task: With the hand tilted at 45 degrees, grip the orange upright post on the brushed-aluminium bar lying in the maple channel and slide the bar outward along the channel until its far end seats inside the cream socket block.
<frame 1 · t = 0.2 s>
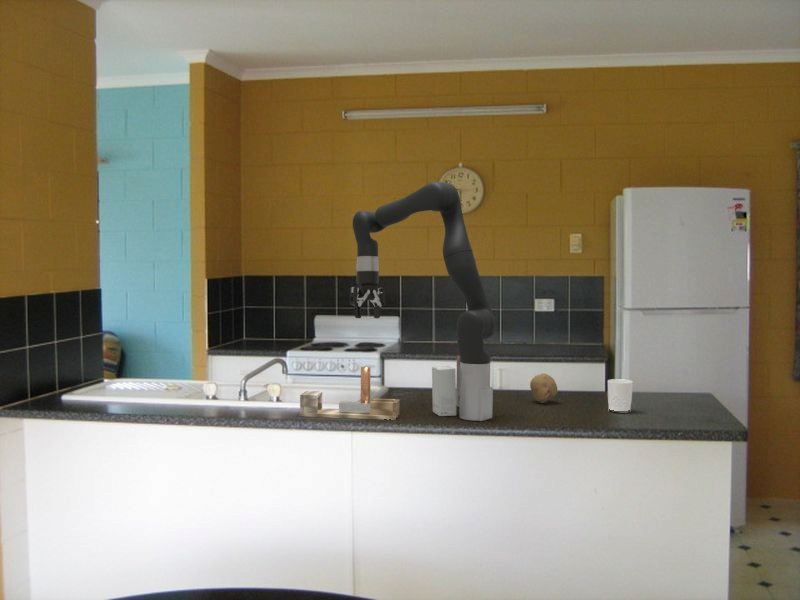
hand: (367, 318, 274), 28 cm above the countertop, tool pointing down, fingers open, 8 cm apart
white cup: (619, 412, 261), on the countertop
tube: (365, 389, 250), point 8 cm above the countertop, slide at 0.0 cm
juice carton: (470, 406, 268), on the countertop
channel and socket: (349, 415, 251), on the countertop
natural sponge: (543, 403, 275), on the countertop
skincare box: (443, 414, 255), on the countertop
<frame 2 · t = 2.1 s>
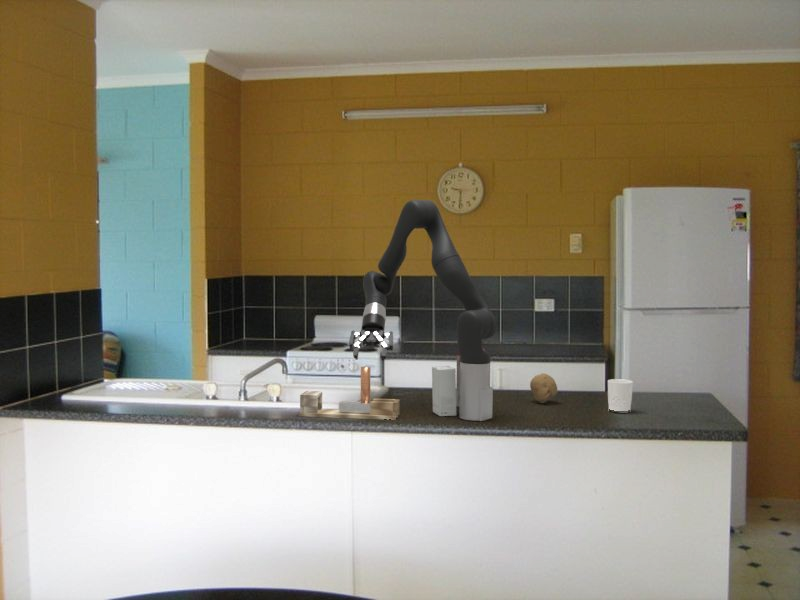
hand: (369, 358, 258), 17 cm above the countertop, tool tilted 45°, fingers open, 8 cm apart
nothing on the countertop moved.
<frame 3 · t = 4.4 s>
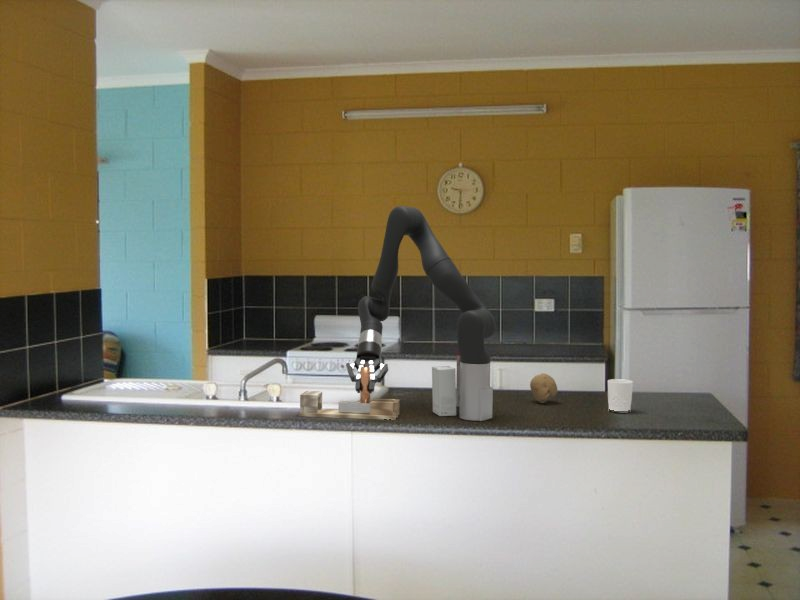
hand: (364, 391, 248), 8 cm above the countertop, tool tilted 45°, fingers closed on tube, 3 cm apart
tube: (365, 389, 250), point 8 cm above the countertop, slide at 0.1 cm, touching gripper
everything else where it was.
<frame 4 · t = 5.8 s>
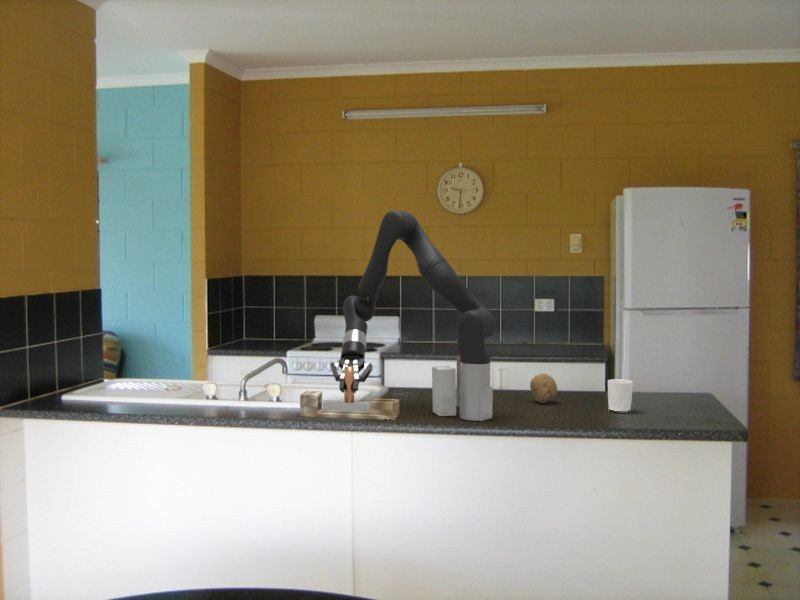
hand: (348, 391, 249), 8 cm above the countertop, tool tilted 45°, fingers closed on tube, 3 cm apart
tube: (349, 389, 251), point 8 cm above the countertop, slide at 5.1 cm, touching gripper
everything else where it was.
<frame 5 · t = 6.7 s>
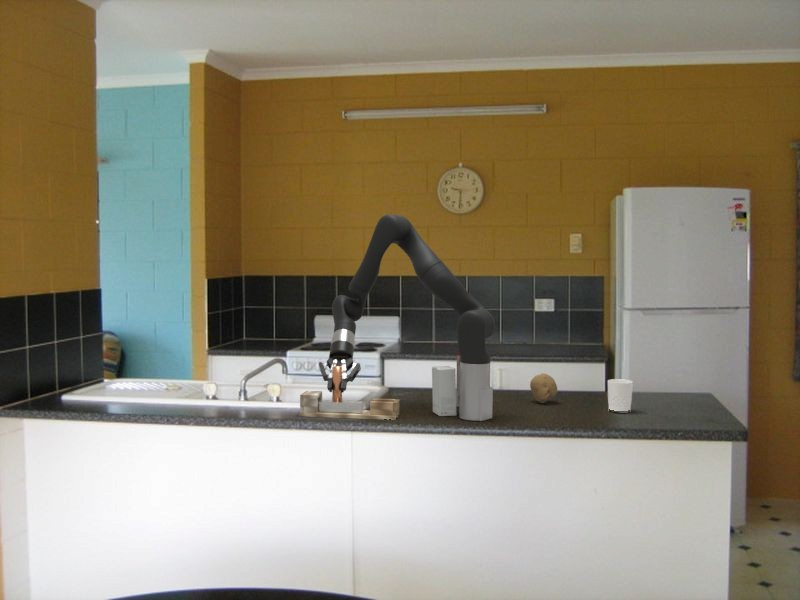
hand: (336, 390, 249), 8 cm above the countertop, tool tilted 45°, fingers closed on tube, 3 cm apart
tube: (337, 388, 251), point 8 cm above the countertop, slide at 8.9 cm, touching gripper
everything else where it was.
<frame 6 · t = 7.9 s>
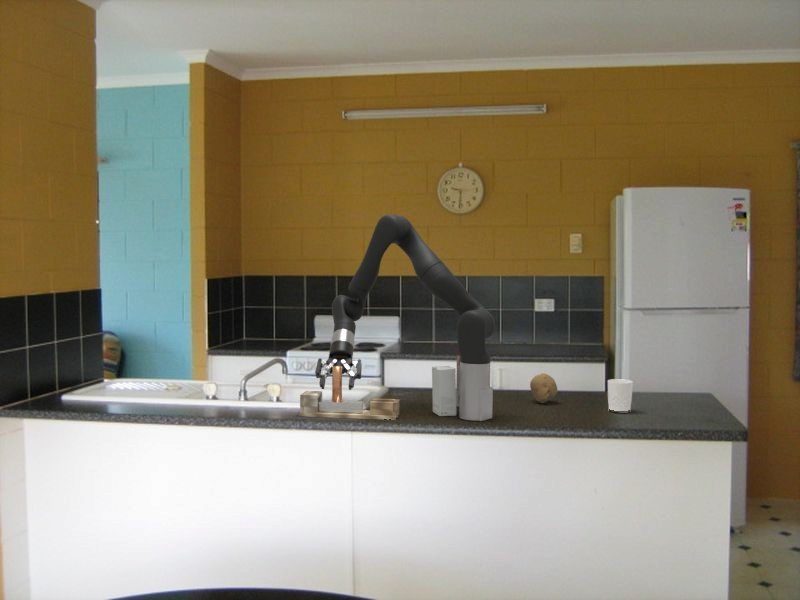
hand: (336, 388, 250), 9 cm above the countertop, tool tilted 45°, fingers open, 8 cm apart
tube: (337, 388, 251), point 8 cm above the countertop, slide at 8.9 cm
everything else where it was.
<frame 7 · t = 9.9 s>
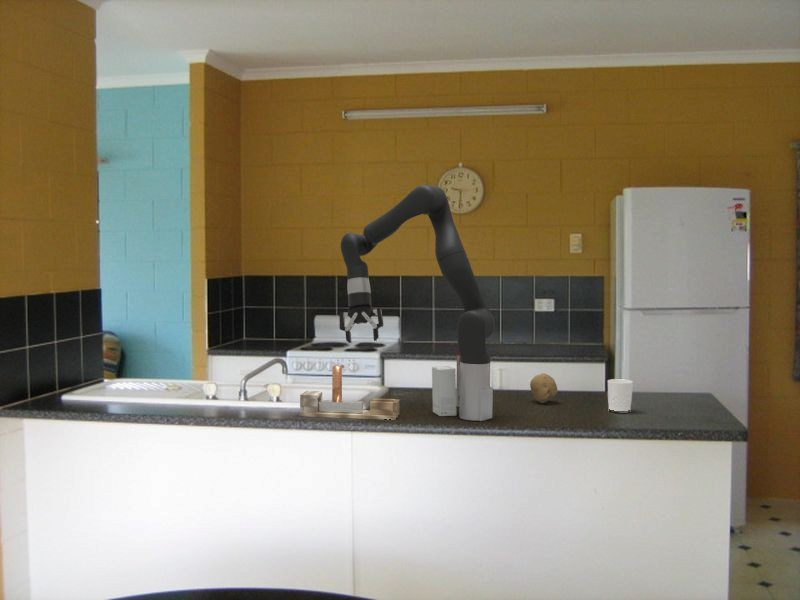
hand: (362, 341, 265), 21 cm above the countertop, tool pointing down, fingers open, 8 cm apart
nothing on the countertop moved.
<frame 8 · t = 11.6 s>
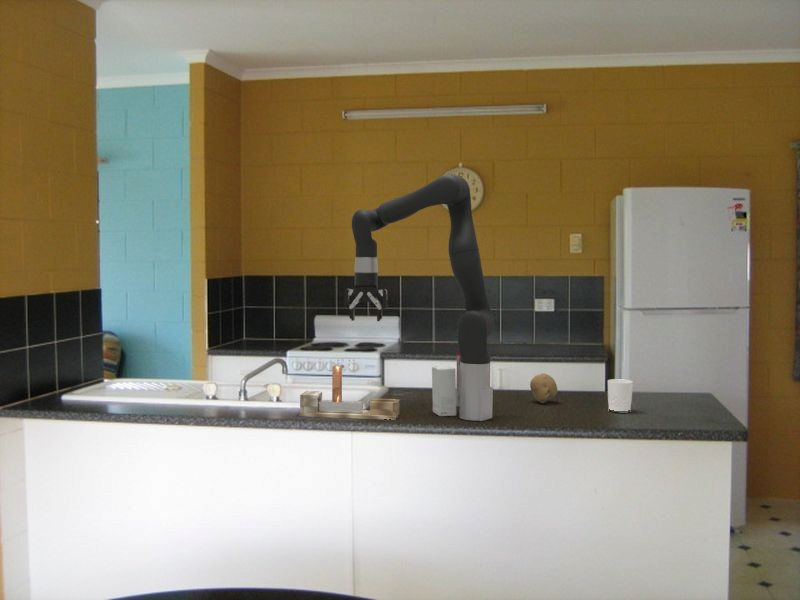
hand: (365, 320, 265), 28 cm above the countertop, tool pointing down, fingers open, 8 cm apart
nothing on the countertop moved.
at the end: tube slide at 8.9 cm; the gripper is holding nothing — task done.
